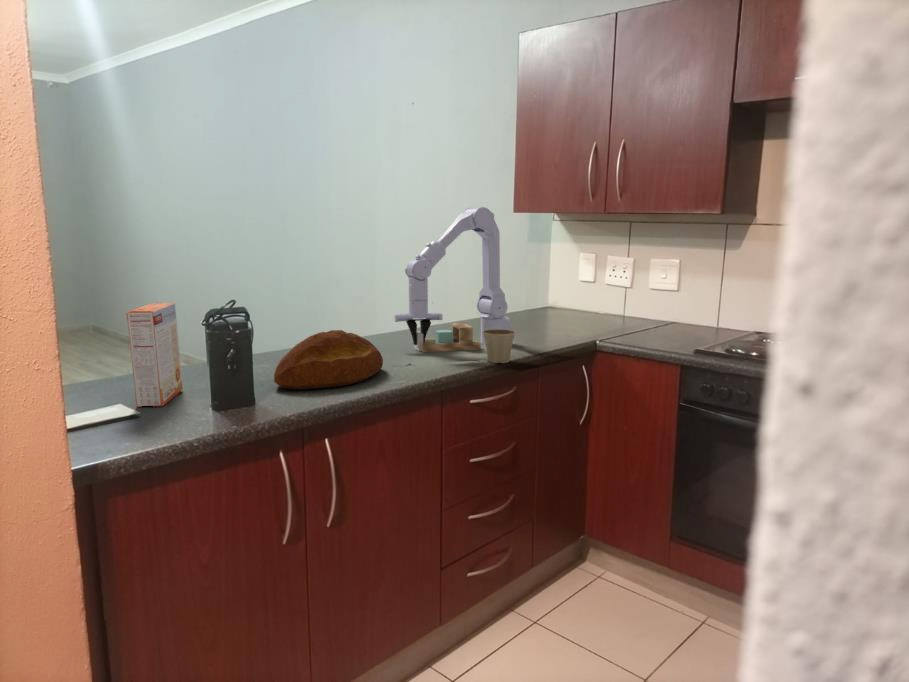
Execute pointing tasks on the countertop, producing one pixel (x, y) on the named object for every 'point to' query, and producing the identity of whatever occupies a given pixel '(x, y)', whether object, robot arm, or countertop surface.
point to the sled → (419, 341)
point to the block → (443, 336)
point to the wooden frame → (454, 340)
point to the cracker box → (154, 353)
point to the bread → (328, 361)
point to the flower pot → (498, 344)
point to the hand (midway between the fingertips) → (418, 344)
